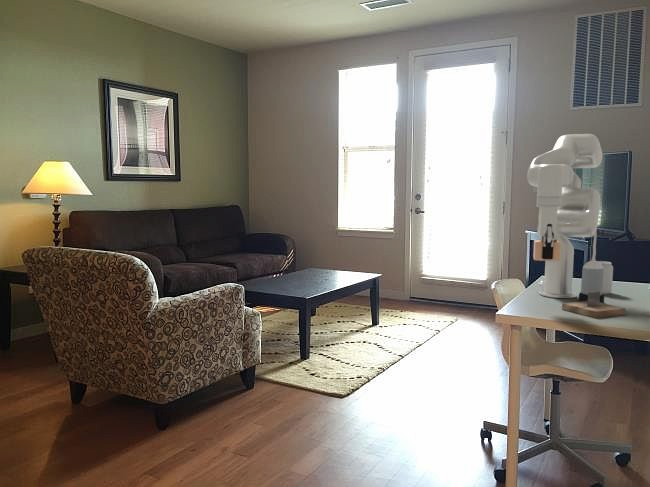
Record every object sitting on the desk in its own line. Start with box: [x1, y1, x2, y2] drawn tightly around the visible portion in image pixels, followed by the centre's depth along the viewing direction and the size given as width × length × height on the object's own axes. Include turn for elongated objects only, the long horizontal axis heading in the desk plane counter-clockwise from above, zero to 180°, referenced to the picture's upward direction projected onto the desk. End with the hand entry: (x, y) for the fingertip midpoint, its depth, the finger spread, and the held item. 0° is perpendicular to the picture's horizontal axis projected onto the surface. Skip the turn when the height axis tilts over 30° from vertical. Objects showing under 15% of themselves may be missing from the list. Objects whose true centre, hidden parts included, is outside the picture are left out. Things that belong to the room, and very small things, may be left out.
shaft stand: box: [561, 291, 626, 319], centre depth 179 cm, size 13×13×7 cm
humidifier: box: [577, 230, 605, 304], centre depth 193 cm, size 8×8×25 cm
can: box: [596, 260, 614, 295], centre depth 212 cm, size 8×8×12 cm
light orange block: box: [532, 239, 560, 262], centre depth 182 cm, size 6×8×7 cm
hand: (546, 257), depth 182 cm, fingers closed on light orange block, 6 cm apart
